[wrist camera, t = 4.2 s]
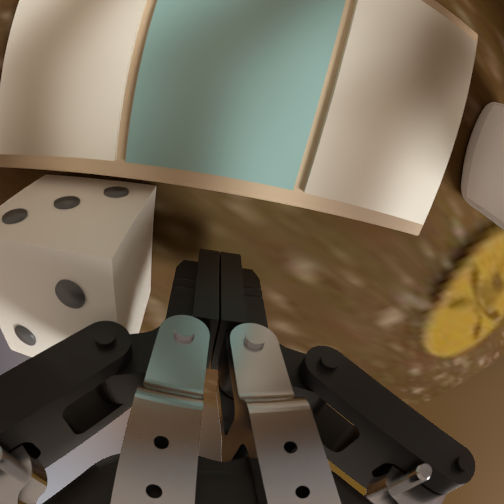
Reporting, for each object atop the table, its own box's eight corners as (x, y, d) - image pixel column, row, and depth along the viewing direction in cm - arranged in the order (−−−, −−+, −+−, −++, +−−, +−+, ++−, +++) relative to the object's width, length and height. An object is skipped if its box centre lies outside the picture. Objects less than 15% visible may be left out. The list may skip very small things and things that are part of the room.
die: (156, 183, 10) (110, 257, 6) (150, 290, 13) (127, 384, 8) (44, 172, 9) (-35, 230, 5) (55, 273, 12) (8, 350, 7)
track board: (463, 35, 7) (481, 34, 6) (407, 225, 12) (420, 238, 11) (54, -51, 4) (41, -59, 3) (10, 160, 9) (-6, 168, 7)
